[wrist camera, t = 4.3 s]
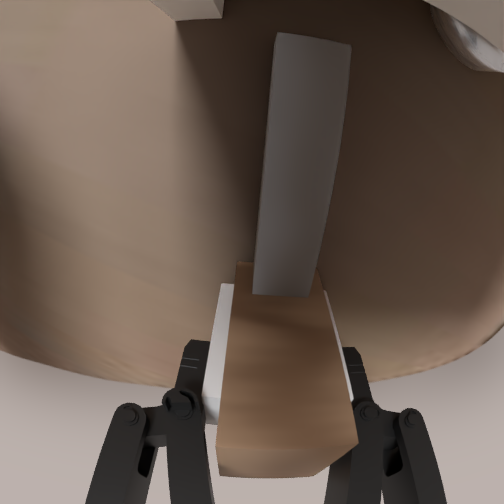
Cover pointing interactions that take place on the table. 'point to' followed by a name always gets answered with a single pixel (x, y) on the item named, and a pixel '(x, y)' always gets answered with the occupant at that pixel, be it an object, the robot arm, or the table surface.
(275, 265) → the blade tool
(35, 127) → the table surface
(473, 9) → the cabinet
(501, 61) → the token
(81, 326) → the table surface
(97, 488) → the robot arm
